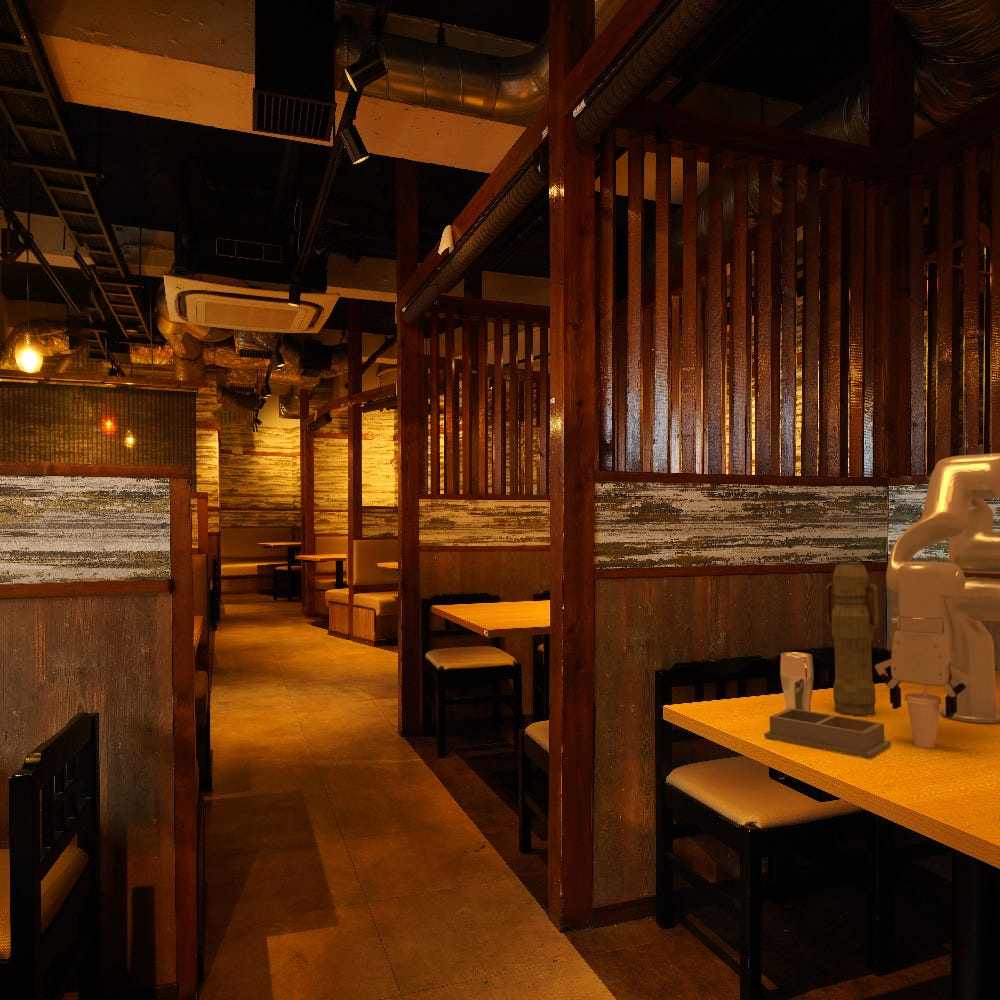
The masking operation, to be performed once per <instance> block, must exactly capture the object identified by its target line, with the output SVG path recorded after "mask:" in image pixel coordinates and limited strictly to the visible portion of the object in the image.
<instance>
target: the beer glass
mask: <svg viewBox="0 0 1000 1000" xmlns="http://www.w3.org/2000/svg"><path fill="white" fill-rule="evenodd" d="M779 668H780V674H779V675H780V680H781V683H780V684H781V689H782V692H783V698H784V710H787V709H789V708H794V709H800V710H806V711H812V710H811V702H812V694H813V687H814V675H815V673H814V663H813V655H812V654H810V653H807V652H797V651H790V652H789V651H788V652H787V651H786V652H782V653H780V667H779Z"/></svg>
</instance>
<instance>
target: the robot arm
mask: <svg viewBox="0 0 1000 1000" xmlns="http://www.w3.org/2000/svg"><path fill="white" fill-rule="evenodd" d="M986 499H987V500H989V499H1000V452H997V453H996V452H995V453H994V452H993V453H985V454H984V453H981V454H979V453H977V454H967V455H966V454H964V455H955V456H950V457H949V456H948V457H945V458H942V459H940V460H938V461H937V463H935V466H934V469H933V470H932V472H931V474H930V478H929V483H928V487H927V492H926V497H925V501H924V507H923V511H922V514H921V515H922V516H921V518H920V519H919V520H918V521H916V522H915V523H913V524H912V525H911V526H909V527H908V528H907V529H906V530H904V532H903V533H902V534H901V535H899V537H898V538H897V539H896V541H895V542H894V544H893V545H892V547H891V550H890V554H889V559H888V563H887V568H886V574H885V576H886V577H885V580H886V585H887V589H889V591H890V592H891V593H892V594H894V595H896V596H897V598H898V599H897V601H898V616H897V617H892V618H891V625H894V626H897V629H899V630H895V631H894V634H893V639H892V645H891V646H892V647H891V657H890V659H887V660H885V661H882V662H878V663H877V664H875V665H874V668H875V670H876V672H877V674H878V675H879V677H880V680H881V681H882V682H883V683H885V685H886V686H887V688H888V689H889V703H890V704H891V705H892V709H893V710H897V709H899V708H901V707H902V689H901V687H900V686H899V685H900V684H901V683H909V684H917V685H923V686H924V685H927V686H931V687H941V688H942V689H943V691H945V693H946V695H945V697H944V698H945V699H944V701H945V705H942V706H941V707H939V714H940V716H943V717H945V718H948V719H952V720H955V721H961V722H968V723H975V724H977V723H978V724H996V723H997V724H998V723H1000V710H997V692H996V691H997V690H996V667H995V666H996V665H995V643H994V639H993V636H992V635H991V633H990V632H989V631H988V629H987V628H986V627H985V625H983V623H982V622H986V621H988V622H999V623H1000V578H989V577H988V578H986V577H970V576H969V577H968V576H967V577H966V576H965V573H971V574H972V573H973V574H996V575H997V574H998V575H999V574H1000V531H994V512H993V509H992V508H991V507H990V505H989V504H988V503H987V502H986V501H985V500H986ZM947 540H949V541H948V542H949V543H948V544H949V545H948V560H949V562H946V561H927V560H926V561H923V560H921V561H920V560H915V561H913V560H912V558H913V557H914V555H916V554H918V553H919V552H920V551H922V550H924V549H925V548H928V547H930V546H933V545H936V544H939V543H941V542H944V541H947ZM981 621H982V622H981ZM943 629H944V630H943ZM943 631H944V633H943ZM888 667H890V674H891V676H890V675H889V674H888V673H887V670H886V669H887V668H888Z"/></svg>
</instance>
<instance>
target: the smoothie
mask: <svg viewBox="0 0 1000 1000" xmlns="http://www.w3.org/2000/svg"><path fill="white" fill-rule="evenodd" d="M927 689H928V685H923V693H922V692H920V693H919V692H910V693H906V694H905V695H904V701H905V702H906V704H907V710H908V715H909V716H908V717H909V722H910V727H911V728H910V729H911V734H912V740H913V745H914V746H915V745H916V746H915V747H918V746H919V748H923V747H924V749H933V748H936V742H937V733H938V724H939V714H940V705H942V697H940V696H938V695H935V694H932V693H928V690H927Z"/></svg>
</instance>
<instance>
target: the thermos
mask: <svg viewBox="0 0 1000 1000" xmlns="http://www.w3.org/2000/svg"><path fill="white" fill-rule="evenodd" d="M832 587H833V597H834V601H833V608H832V602H831V601H832V600H831V599H832V596H831V595H832V594H831V593H832V591H831V589H832ZM870 588H871V589H872V590H873V612H874V613H872V611H871V608H870V602H869V597H870ZM823 592H824V593H823V596H824V608H825V610H824V611H825V623H826V624H827V625H828V626H830V628H831V636H832V638H833V640H834V641H833V643H834V644H833V645H834V670H835V671H834V673H835V679H834V683H833V686H832V688H833V689H832V690H833V691H832V692H833V694H832V695H833V701H834V712H835V711H836V712H835V713H837V712H838V713H837V714H839V713H841V714H840V715H842V714H846V715H845V716H847V715H853V716H852V717H856V716H868V715H873V714H875V715H876V707H875V706H876V701H877V700H876V687H875V683H874V681H873V661H872V660H873V659H872V655H873V654H872V641H873V638H874V630H877V629H879V628H880V605H879V603H880V601H879V599H880V598H879V588H878V587H877V586H876V584H875V583H871V582H870V581H869V573H868V571H867V569H866V567H865V564H862V563H861V562H839V564H836V565H835V568H834V571H833V575H832V582H828V583H827V584H826V585H825V587H824V588H823ZM873 619H874V620H873ZM873 621H874V622H873ZM873 716H874V715H873ZM868 717H869V716H868Z"/></svg>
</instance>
